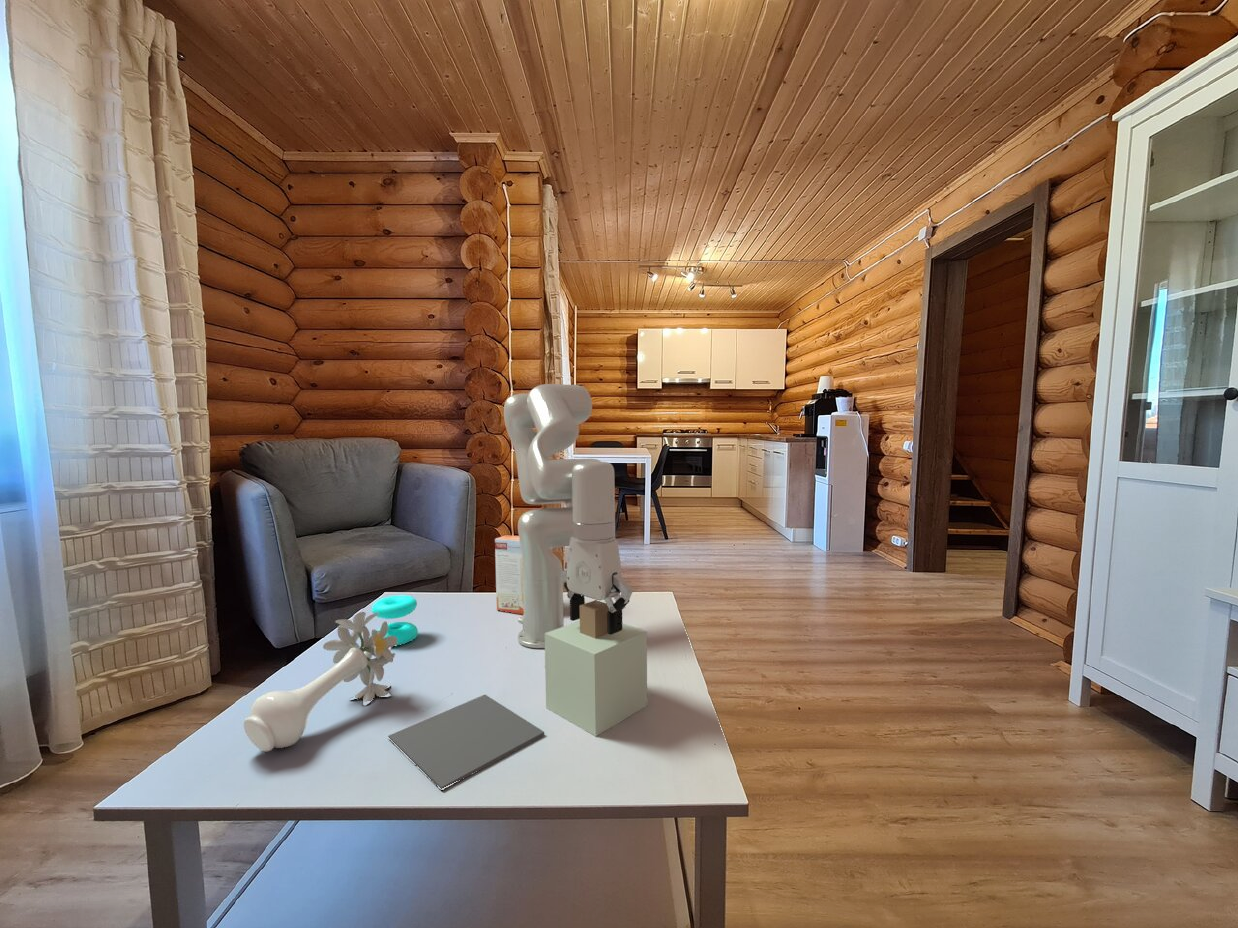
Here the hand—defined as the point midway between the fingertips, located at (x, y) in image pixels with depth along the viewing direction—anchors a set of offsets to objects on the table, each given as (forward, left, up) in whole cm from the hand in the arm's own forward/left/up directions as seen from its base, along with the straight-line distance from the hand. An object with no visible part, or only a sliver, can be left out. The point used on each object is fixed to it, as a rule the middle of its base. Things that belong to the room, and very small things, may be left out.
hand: (595, 625), depth 92 cm
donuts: (-58, -12, -15) cm, 61 cm away
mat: (-9, -21, -15) cm, 27 cm away
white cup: (0, 0, -15) cm, 15 cm away
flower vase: (-32, -34, -15) cm, 49 cm away
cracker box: (-52, +21, -15) cm, 58 cm away
